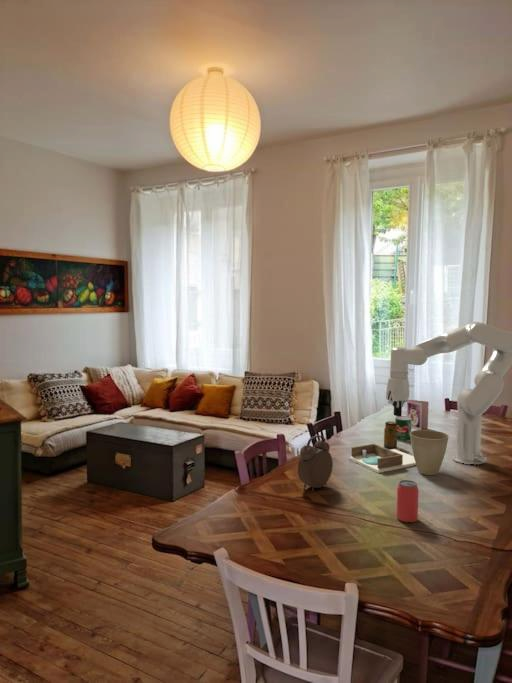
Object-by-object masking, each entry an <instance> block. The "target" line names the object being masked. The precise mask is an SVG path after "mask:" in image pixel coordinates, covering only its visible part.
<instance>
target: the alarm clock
mask: <svg viewBox="0 0 512 683" xmlns="http://www.w3.org/2000/svg"><path fill="white" fill-rule="evenodd" d="M317 438H320V440H317V441H316V442H315V444H313V445H311V442H312V441H313V440H314V439H317ZM326 440H327V439H326V438H324V436H323V435H318V434H317V435H314V436H311V437H310V438H309V439H308V441H307V443H306V445H303V446H302V447H301V448H300V451H299V455H300V458H299V461H298V465H297V474H298V478H299V480H300V482H302V483H303V484H304V485H303V488H302V490H306V486H309V487H312V489H311V491H312V492H314V489H315V488H317V489H320V488H322V487H324V486H327V485H328V484H327V483H328V481H329V479H330V478H331V476H332V472H333V458H332V455H331V453H330V448H331V447H330V444H329V443H328V442H327V441H326Z"/></svg>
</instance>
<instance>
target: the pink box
mask: <svg viewBox="0 0 512 683" xmlns="http://www.w3.org/2000/svg"><path fill="white" fill-rule="evenodd" d="M429 405H430V404H429V401H425V400H415V399H408V401H407V402H406V417H410V418H411V429H414V430H422V429H425V430H429V429H428V428H429Z"/></svg>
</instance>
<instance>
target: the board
mask: <svg viewBox="0 0 512 683" xmlns="http://www.w3.org/2000/svg"><path fill="white" fill-rule="evenodd" d="M391 451H394V452H397V453H399V454H402V455H403V463H402V464H401V465H396V466H391V467H386V468H381V469H378V458H383V457H381V456H379V455H376V454H374V453H372V454H366V450H363V455H361V456H355V457H352V456H349V457H348V460H349V461H351V462H354V463H355V464H357V463H358V465H359V464H360V466H362V467H364V468H366V469H368V470H370V471H372V472H374V471H375V473H377V474H379V473H381V474H382V473H385V471H386V472H389V471H396V470H399V469H406V468H410V467H415V466H417V465H416V462H415V459H414V455H411V454H408V453H405V452H403V451H400V450H396V449H391ZM414 465H415V466H414Z"/></svg>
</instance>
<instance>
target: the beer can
mask: <svg viewBox="0 0 512 683" xmlns="http://www.w3.org/2000/svg"><path fill="white" fill-rule="evenodd" d="M396 491H397V492H396V518H397V519H398V520H399V521H401V522H404V523H408V522H411V523H415V522H417V521H418V519H419V518H418V516H419V493H420V492H419V487H418V483H417V482H416V481H413V480H409V479H404V480H402V479H401V480H400V481H399V482H398V486H397V490H396Z"/></svg>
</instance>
